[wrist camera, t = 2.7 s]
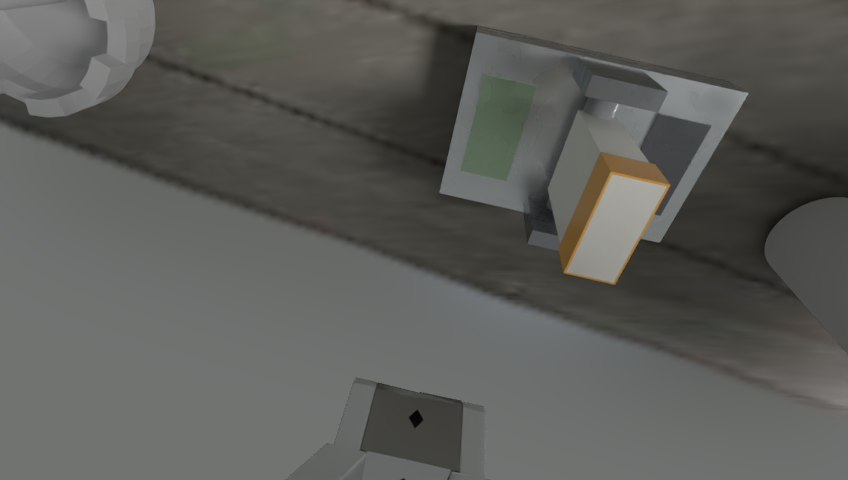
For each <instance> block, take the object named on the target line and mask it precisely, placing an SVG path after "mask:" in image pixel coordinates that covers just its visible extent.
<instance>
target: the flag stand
mask: <svg viewBox="0 0 848 480" xmlns="http://www.w3.org/2000/svg"><path fill="white" fill-rule="evenodd" d="M154 32H155V10H154V3H153V0H0V94H2V93H5V94H7V95H9V96H11V97H13V98H15V99H18V100H20V101H22V102H24V103H26V106H27V109H28V112H29V115H33V116H41V117H61V116H68V115H71V114H73V113H76V112H78V111H81V110H83V109H86V108H89V107H92V106H94V105H97V104H99V103H102V102H105V101H107V100H110V99H111V98H112V97H114V96H115V95H116V94H118V93H119V92H120V91H122V90H123V89H124V87H125V86H126V84H127V83H128V82H129V80H130V79H131V77H132V75H133V73H134V70H135V69H136V68H137V67H139V66H140V65H141V64H142V62H143V61H144V60H145V58H146V57H147V55H148V54H149V51H150V48H151V46H152V43H153V40H154Z"/></svg>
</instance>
